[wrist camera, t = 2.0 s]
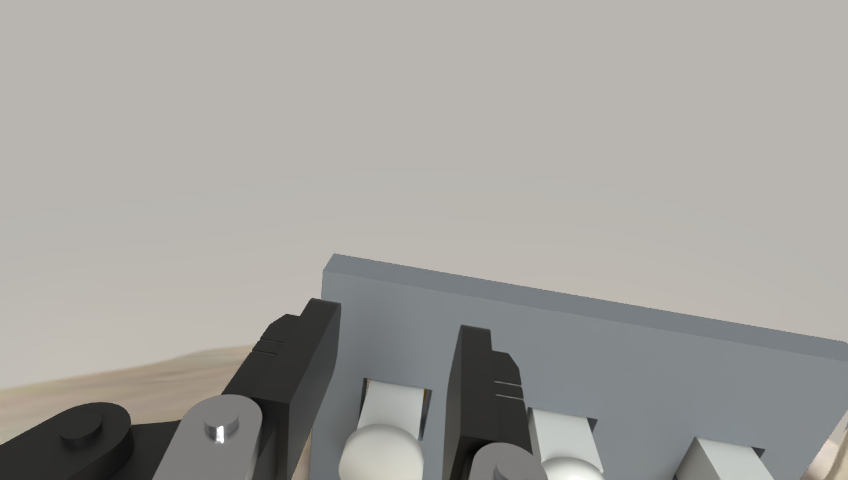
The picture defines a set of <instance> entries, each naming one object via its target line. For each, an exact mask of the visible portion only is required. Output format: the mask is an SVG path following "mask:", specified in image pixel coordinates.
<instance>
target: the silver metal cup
mask: <svg viewBox="0 0 848 480" xmlns="http://www.w3.org/2000/svg"><path fill="white" fill-rule="evenodd" d="M823 480H848V423H847V426H846V428H845V431H844V434H843V436H842V440H841V442H840V445H839V448H838V451H837V453H836V456H835V459H834V461H833V464H832V466H831V468H830V470H829V472H828V473H827V475H826V477H825V478H824V479H823Z"/></svg>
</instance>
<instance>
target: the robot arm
mask: <svg viewBox="0 0 848 480" xmlns="http://www.w3.org/2000/svg"><path fill="white" fill-rule="evenodd" d="M340 320H341V303H338V302H332V301H326V300H320V299H315V298H312V299H310V301H309V302H308V304H307V305H306V307H305V309H304V310H303V312H302V314H301V315H300V316H295V315H290V314H285V315H284V316H282V317H281V318H279V319H278V320H276V321H274V322H273V323H271V324H270V325H269V326H268V328H267V329H266V331H265V332H264V333H263V335H262V336H261V338H260V341H258V342H257V344H256V345H255V346H254V348H253V349H252V353H251V352H250V354H249V355H248V356H247V358H246V359H245V361H244V362H243V364H242V365H241V367H240V368H239V369H238V371H237V372H236V374H235V375H234V377H233V378H232V379H231V381H230V382H229V384H228V385H227V387H226V388H225V390H224V391H223V392H222V394H221V395H219V396H215V397H211V398H208V399H206V400H204V401H202V402H200V403H198V404H197V405H195V406H194V407H192V408H191V409H190V410H189V411H188V412H187V413H186V414H185V415H184V417H183V419H182V420H178V421H172V422H163V423H151V424H139V425H131V420H130V415H129V414H128V412H127V411H126V410H125V409H124V408H123V407H121V406H119V405H116V404H113V403H107V402H97V403H88V404H83V405H80V406H76V407H73V408H71V409H68V410H66V411H63V412H61V413H59V414H57V415H56V416H54V417H52V418H50V419H48V420H46V421H44V422H43V423H41V424H39V425H37V426H35V427H33V428H31V429H30V430H28V431H26V432H24V433H22V434H20V435H18V436H17V437H15V438H13V439H11V440H9V441H7V442H5V443H4V444H2V445H0V480H291V478H292V476H293V473H294V471H295V468H296V466H297V463H298V461H299V458H300V456H301V453H302V451H303V448H304V446H305V443H306V441H307V438H308V436H309V433H310V431H311V428H312V426H313V423H314V421H315V418H316V416H317V413H318V411H319V408H320V406H321V403H322V401H323V398H324V396H325V393H326V391H327V388H328V386H329V383H330V381H331V378H332V376H333V372H334V369H335V365H336V360H337V353H338V342H339V331H340ZM521 385H522V383H521V377H520V371H519V368H518V366H517V365H516V363H515V362H514V360H513V359H512V357H511V356H510V355H509V353H505V352H499V351H493V350H492V342H491V331H490V329H485V328H479V327H474V326H468V325H462V324H461V326H460V329H459V334H458V338H457V343H456V348H455V352H454V357H453V361H452V366H451V371H450V376H449V382H448V389H447V398H446V415H445V433H444V450H443V468H442V480H548V477H547V474H546V472H545V470H544V468H543V467H542V465H541V464H540V462H539V461H538V460H537V459H536V458H535V457H534V456H533V452H532V446H531V440H530V433H529V427H528V421H527V415H526V408H525V402H524V401H523V400H524V396H523V390H522V388H521Z"/></svg>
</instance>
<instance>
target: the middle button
mask: <svg viewBox="0 0 848 480" xmlns="http://www.w3.org/2000/svg"><path fill="white" fill-rule="evenodd" d="M526 415H527V421H528V427H529V433H530V440H531V446H532V452H533V456H534V457H535V458H536V459H537V460H538V461H539V462H540V464H541V465H542V467H543V468H544V470H545V472H546V474H547V477H548V480H605V478H604V475H603V474H602V473H603V468H602V465H601V461H600V458H599V455H598V452H597V449H596V446H595V442H594V439H593V436H592V433H591V430H590V427H589V424H588V420H587V417H582V416H576V415H571V414H565V413H560V412H554V411H548V410H543V409H537V408H531V407H528V408H527V411H526Z"/></svg>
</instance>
